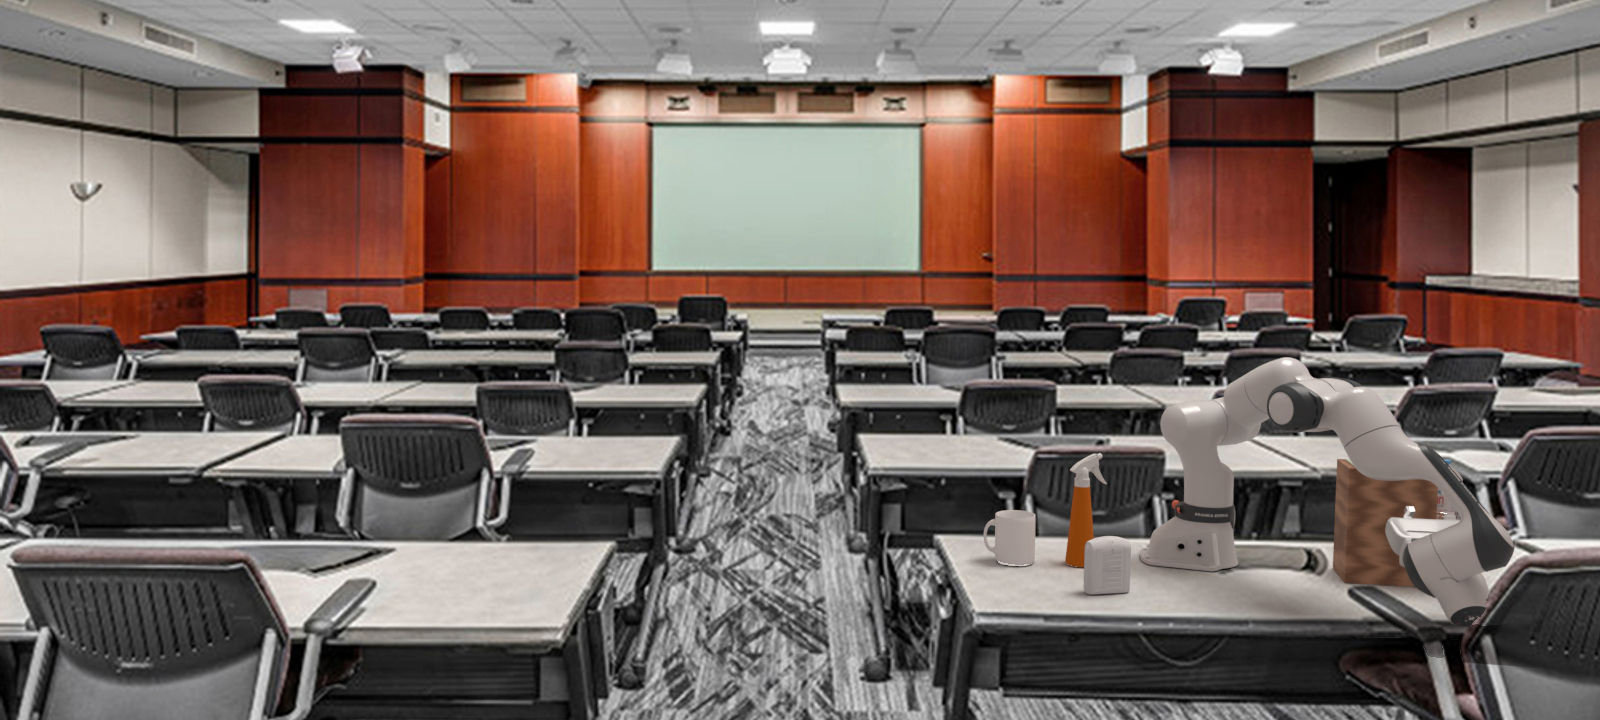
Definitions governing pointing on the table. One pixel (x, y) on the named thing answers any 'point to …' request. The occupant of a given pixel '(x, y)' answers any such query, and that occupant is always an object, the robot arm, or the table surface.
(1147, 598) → the table surface
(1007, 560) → the mug
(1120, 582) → the photo printer
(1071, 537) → the spray bottle
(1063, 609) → the table surface
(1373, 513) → the stand
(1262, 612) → the table surface
